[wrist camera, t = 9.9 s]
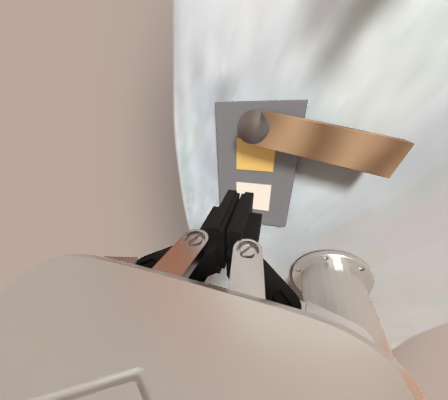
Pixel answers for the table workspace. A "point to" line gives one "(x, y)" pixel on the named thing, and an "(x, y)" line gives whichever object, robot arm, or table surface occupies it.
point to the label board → (256, 160)
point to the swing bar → (323, 141)
